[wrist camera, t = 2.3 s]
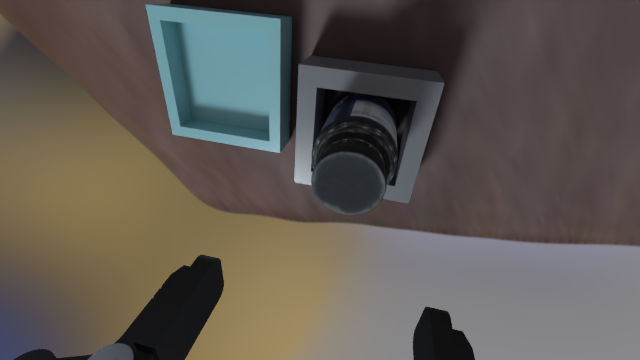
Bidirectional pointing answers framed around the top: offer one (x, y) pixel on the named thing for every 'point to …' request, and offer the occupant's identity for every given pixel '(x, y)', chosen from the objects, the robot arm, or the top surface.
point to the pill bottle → (355, 154)
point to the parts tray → (225, 73)
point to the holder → (372, 81)
